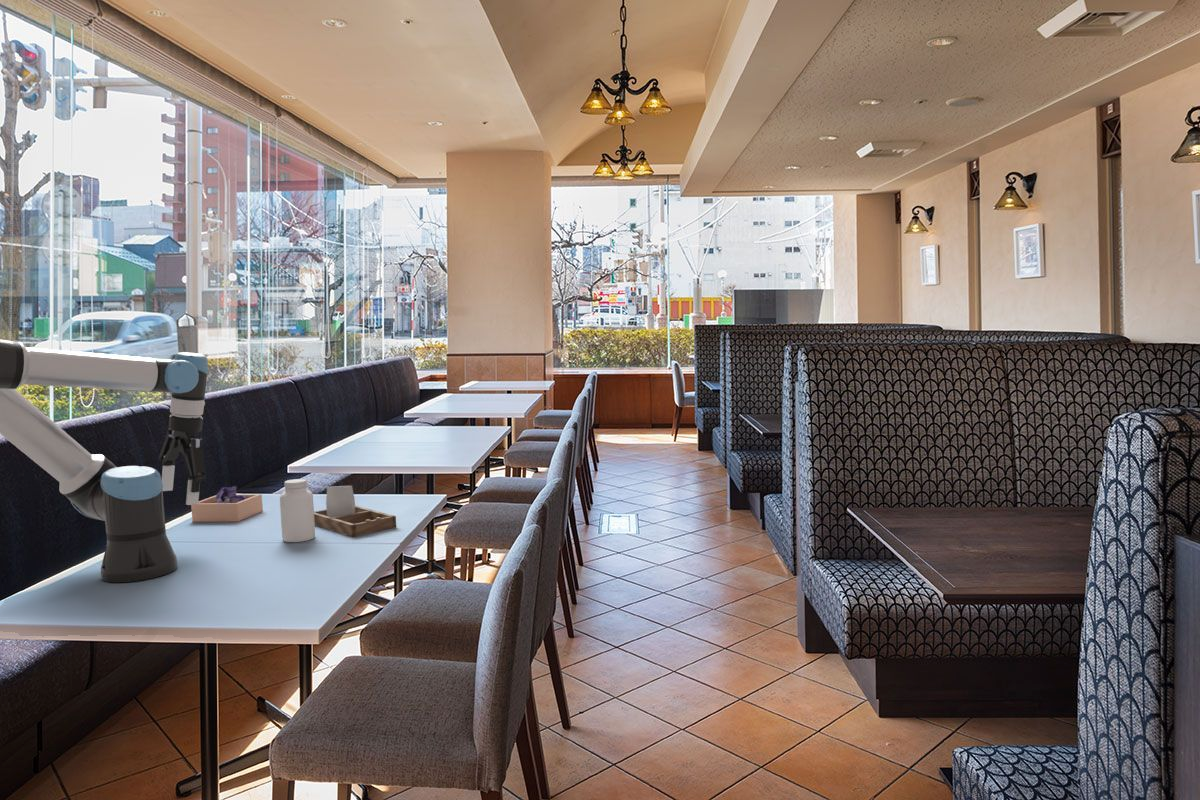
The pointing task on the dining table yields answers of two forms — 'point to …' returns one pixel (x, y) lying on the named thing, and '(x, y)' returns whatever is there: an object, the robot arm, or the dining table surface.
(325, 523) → the slot rack
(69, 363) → the robot arm
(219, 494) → the flower
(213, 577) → the dining table surface
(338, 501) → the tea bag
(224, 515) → the flower planter
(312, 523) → the pill bottle
